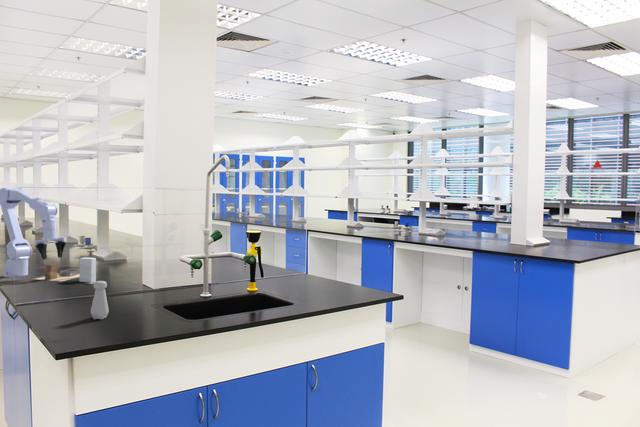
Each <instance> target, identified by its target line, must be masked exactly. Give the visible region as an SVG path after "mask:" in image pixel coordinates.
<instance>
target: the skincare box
mask: <svg viewBox="0 0 640 427" xmlns="http://www.w3.org/2000/svg"><path fill="white" fill-rule="evenodd" d="M79 270H80V277H78V280H79V283H80V282H82V284H84V285H92V284H93V285H94V282H96V281H97V258H96V257H80V258H79Z"/></svg>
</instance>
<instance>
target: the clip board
mask: <svg viewBox="0 0 640 427" xmlns="http://www.w3.org/2000/svg"><path fill="white" fill-rule="evenodd" d="M79 277H80V269H75V268H69V269H64V270H59V271H58V272H57V279H53V280H49V281H54V282H65V281H69V280H73V279H77V278H78V279H79ZM33 280H40V281H46V280H45V275H44V276H39V277H35V278H33Z"/></svg>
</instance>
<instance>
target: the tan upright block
mask: <svg viewBox="0 0 640 427" xmlns="http://www.w3.org/2000/svg"><path fill="white" fill-rule="evenodd" d="M57 273H58V263H49V264H48V263H47V264H44V276H45V280H44V281H50V280H53V279H57Z"/></svg>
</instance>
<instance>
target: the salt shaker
mask: <svg viewBox="0 0 640 427" xmlns="http://www.w3.org/2000/svg"><path fill="white" fill-rule="evenodd" d="M107 286H108V283H107V281H104V280H96V282H94V283H93V289H94V295H93V299H92V304H91V308H90V314H91V316H92V319H93V320H96V319H100V320H104V318H105V319H107V316H108V314H109V312H110V311H109V310H110V309H109V305H108V300H107V293H106V288H108V287H107Z"/></svg>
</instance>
